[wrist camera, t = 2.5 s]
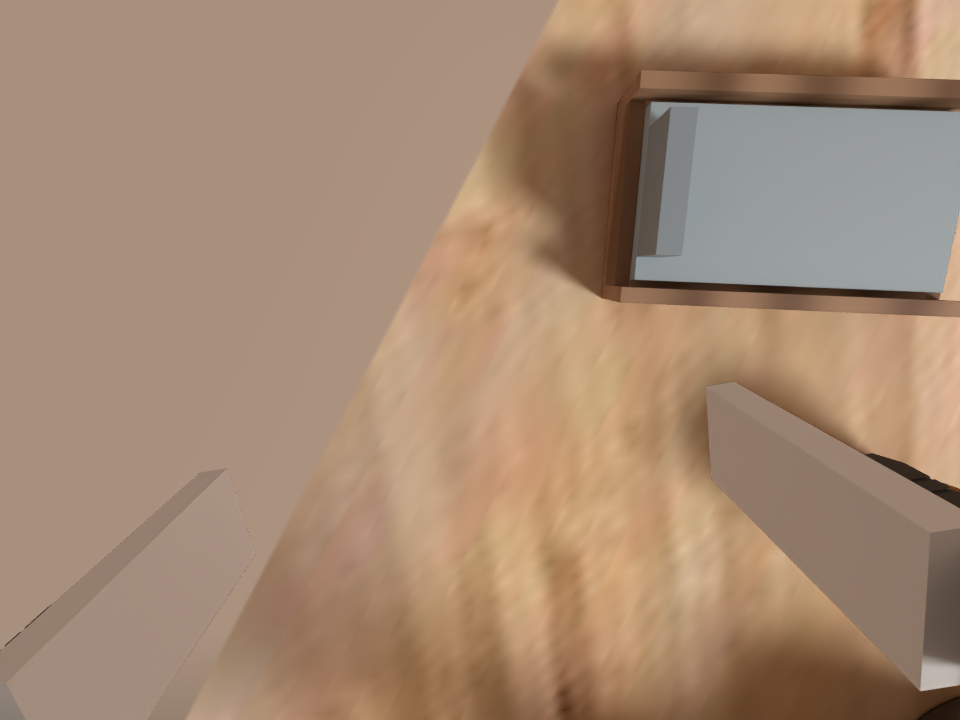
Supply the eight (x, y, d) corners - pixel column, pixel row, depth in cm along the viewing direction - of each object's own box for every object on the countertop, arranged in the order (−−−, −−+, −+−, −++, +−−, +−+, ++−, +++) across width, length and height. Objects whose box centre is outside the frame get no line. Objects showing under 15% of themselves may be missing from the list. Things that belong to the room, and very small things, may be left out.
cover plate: (961, 118, 32) (1051, 88, 26) (926, 292, 33) (1004, 295, 28) (645, 108, 32) (673, 76, 27) (629, 279, 34) (653, 280, 29)
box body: (928, 113, 35) (1015, 81, 29) (891, 310, 38) (964, 317, 32) (617, 103, 36) (641, 70, 30) (601, 297, 38) (620, 302, 32)
